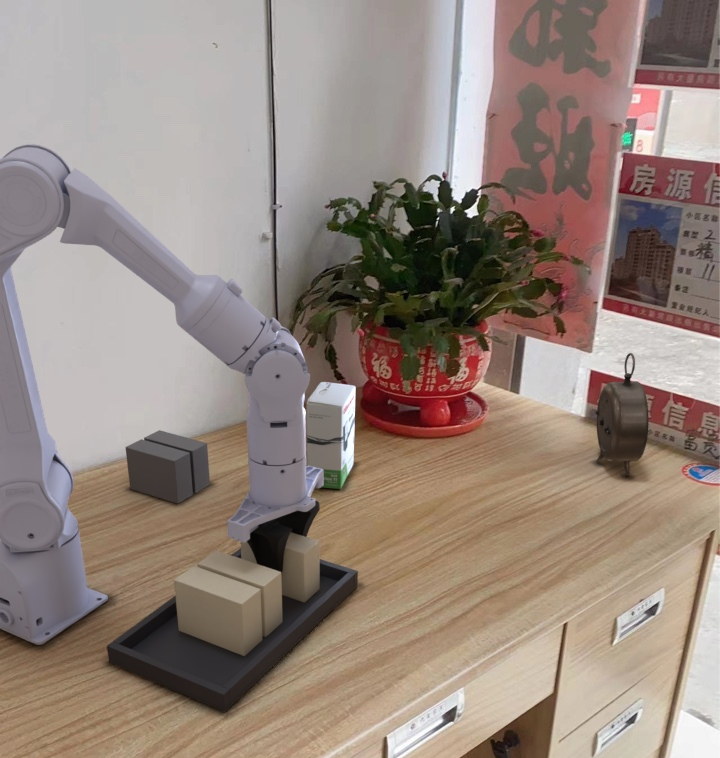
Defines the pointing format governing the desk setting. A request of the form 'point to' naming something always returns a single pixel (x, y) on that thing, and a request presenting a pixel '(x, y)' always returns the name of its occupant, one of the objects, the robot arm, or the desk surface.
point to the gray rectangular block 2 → (196, 455)
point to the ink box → (331, 431)
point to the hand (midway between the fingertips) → (280, 570)
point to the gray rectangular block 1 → (159, 471)
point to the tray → (216, 664)
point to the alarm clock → (622, 420)
